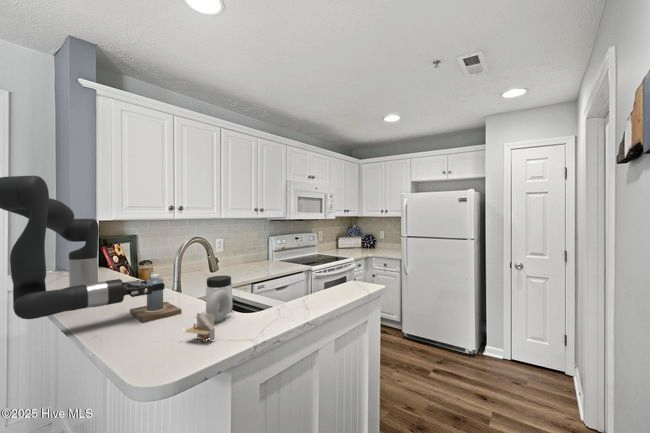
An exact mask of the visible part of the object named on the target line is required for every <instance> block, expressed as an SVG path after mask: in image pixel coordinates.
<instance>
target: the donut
mask: <svg viewBox="0 0 650 433" xmlns="http://www.w3.org/2000/svg"><path fill="white" fill-rule="evenodd" d="M218 303H219V308H218V310H217V307H218ZM229 307H230V298H229V295H228V294H227V293H226V292H225V291H223V290H217V291H215V292H213V293H212V295H211V296H210V297H209V299H208V301H207V304H206V303H205V314H210V315H214V323H218V322H219V323H220V322H221V321H223V319H225V317H226V316H228V314H229V313H228V311H229ZM227 313H228V314H227Z"/></svg>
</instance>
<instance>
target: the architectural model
mask: <svg viewBox="0 0 650 433" xmlns="http://www.w3.org/2000/svg"><path fill="white" fill-rule="evenodd" d="M195 318H196V323H193V326H192V327H190V328H187V329H186V330H185V331H184V333H191V334H196V335H197V336H196V337H199V338H201V339H200V340H201V341H203V340H204V341H206V339H208V338H210V340H209V342H210V341H212V340H214V339H215V338H216V337H215V336H216V334H215V332H216V330H215V329H216V328H215V322H214V315H210V314H206V313H199V312H197V313H196V315H195ZM204 341H203V342H204Z"/></svg>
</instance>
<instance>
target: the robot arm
mask: <svg viewBox="0 0 650 433" xmlns="http://www.w3.org/2000/svg"><path fill="white" fill-rule="evenodd" d="M0 209H1V210H4V211H7V212H9V213H12V214H16V215H19V216H23V217H24V218H27V219H28V220H27V224H26V226H25V227H24V229H23V231H22V233H21V234H20V235H19V237H18V238H17V240H16V241H15V243H14V244H13V246H12V249H11V251H10V255H9V264H10V265H9V266H10V275H11V281H12V286H13V287H12V298H13V299H12V303H13V304H12V308H13V312H14V314H15V315H16V317H18V318H20V319H22V320H35V319H39V318H44V317H49V316H53V315H56V314H61V313H63V312H69V311H70V312H71V311H77V310H82V309H89V308H98V307H104V306H110V305H113V304H120V303H122V302H123V301H124V299H125V296H129V297H131V298H136V297H140V296H141V297H142V296H147V294H152V292H153V291H159V290H163V291H165V288H166V287H165V283H164V282H163V283H159V284H153V285H151V284H150V285H147V280H140V279H136V280H131V281H125V282H123V280H122V279H120V278H117V279H110V280H103V281H99V258H98V257H99V255H98V252H99V233H100V232H99V229H100V228H99V223H98V221H97V219H95V218H75V213H74V212H73V210H72V209H71V207H69V206H67V204H64V202H62V201H60V200H57V199H55V198H50V194H49V187H48V185H47V183H46V180H44V178H42V177H41V176H38V175H16V176H14V175H13V176H11V175H10V176H2V177H0ZM47 229H49V230H51V231H53V232H55V233H56V234H58V235H59V236H61V238H63V239H64V240H66V241H68V242H74V243H77V242H85V243H84V245H83V246H82V247H80V248H77V249H75V250H71V251H70V252H68V273H69V275H68V280H69V286H67V287H64V288H62V289H53V290H51V289H50V290H47V287H46V286H47V285H46V278H47V266H46V264H47V263H46V261H47V260H46V253H45V252H46V249H45V245H46V244H45V243H46V232H47ZM147 288H148V291H147Z"/></svg>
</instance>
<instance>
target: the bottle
mask: <svg viewBox="0 0 650 433" xmlns="http://www.w3.org/2000/svg"><path fill="white" fill-rule="evenodd" d="M146 281H147V285H150V284H151V285H153V284H159V283H164V279H163V278H160V274H159V273H151V274H150V278H149V279H148V280H146ZM146 291H148V288H147V289H146ZM163 302H164V290H159V291H153V292H152V294H147V295H146V306H147V310H148V311H156V310H160V309H163Z"/></svg>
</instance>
